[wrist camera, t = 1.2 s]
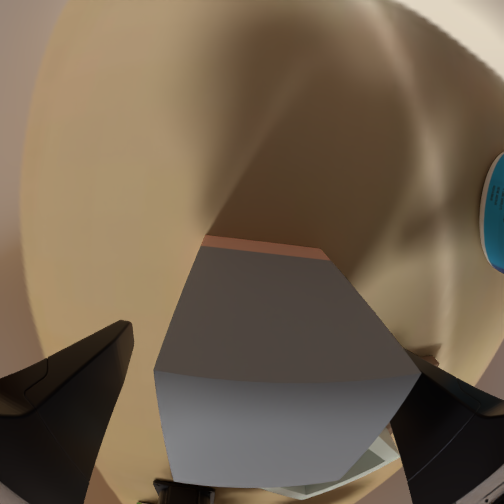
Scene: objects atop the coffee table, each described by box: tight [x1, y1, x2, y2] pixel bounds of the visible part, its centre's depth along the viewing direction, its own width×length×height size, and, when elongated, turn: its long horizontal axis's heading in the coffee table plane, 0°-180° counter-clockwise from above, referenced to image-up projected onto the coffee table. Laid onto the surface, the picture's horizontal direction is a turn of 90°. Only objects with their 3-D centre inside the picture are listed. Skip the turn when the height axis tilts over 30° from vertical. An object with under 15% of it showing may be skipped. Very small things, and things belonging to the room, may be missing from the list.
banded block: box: [154, 235, 421, 488], centre depth 9 cm, size 5×5×8 cm
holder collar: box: [261, 427, 400, 500], centre depth 14 cm, size 9×9×3 cm
